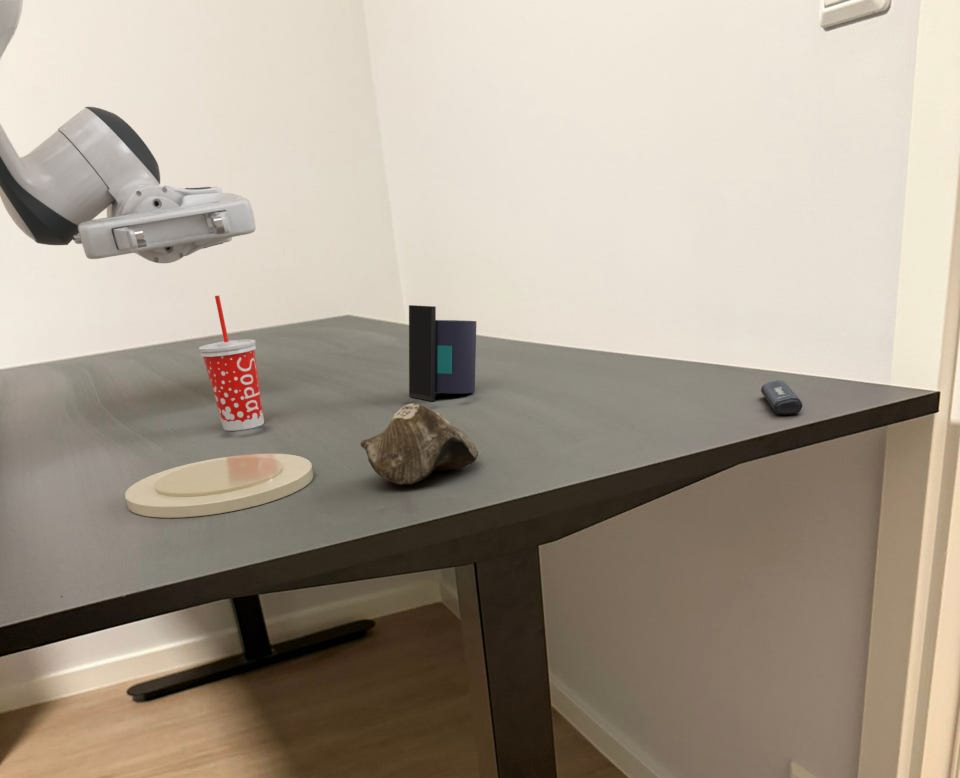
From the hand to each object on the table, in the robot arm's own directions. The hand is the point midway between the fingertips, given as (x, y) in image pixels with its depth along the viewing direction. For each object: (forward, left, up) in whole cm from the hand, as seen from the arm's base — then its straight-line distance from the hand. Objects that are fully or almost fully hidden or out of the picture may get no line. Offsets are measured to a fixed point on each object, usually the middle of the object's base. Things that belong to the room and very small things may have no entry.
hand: (180, 232), depth 108 cm
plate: (+10, -36, -21) cm, 42 cm away
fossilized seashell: (+28, -38, -21) cm, 51 cm away
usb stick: (+61, -24, -21) cm, 69 cm away
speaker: (+28, -2, -21) cm, 35 cm away
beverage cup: (+5, -9, -21) cm, 23 cm away
